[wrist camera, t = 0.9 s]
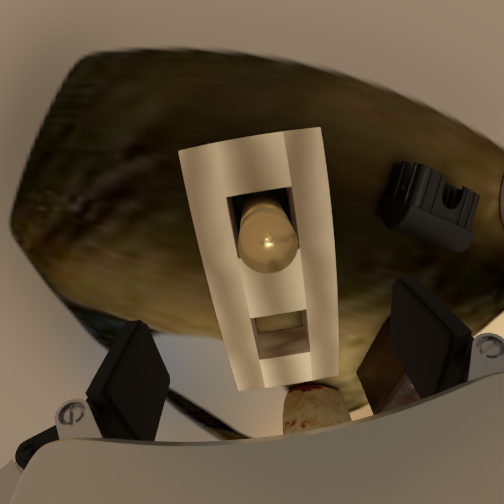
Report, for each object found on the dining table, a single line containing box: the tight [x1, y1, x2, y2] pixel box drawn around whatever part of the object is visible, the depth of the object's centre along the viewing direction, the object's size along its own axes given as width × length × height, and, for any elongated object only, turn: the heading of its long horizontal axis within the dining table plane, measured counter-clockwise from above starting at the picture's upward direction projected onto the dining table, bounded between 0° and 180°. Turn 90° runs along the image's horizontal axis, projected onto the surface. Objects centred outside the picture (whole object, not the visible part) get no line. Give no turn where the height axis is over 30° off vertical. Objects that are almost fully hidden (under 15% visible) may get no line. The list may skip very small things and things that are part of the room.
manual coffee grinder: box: [357, 317, 421, 415], centre depth 27 cm, size 16×11×18 cm
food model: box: [283, 385, 352, 435], centre depth 30 cm, size 10×7×20 cm
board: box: [178, 127, 339, 391], centre depth 29 cm, size 12×27×5 cm, turn 10°
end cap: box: [382, 161, 480, 253], centre depth 26 cm, size 10×7×7 cm
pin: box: [238, 192, 298, 274], centre depth 25 cm, size 4×4×11 cm
